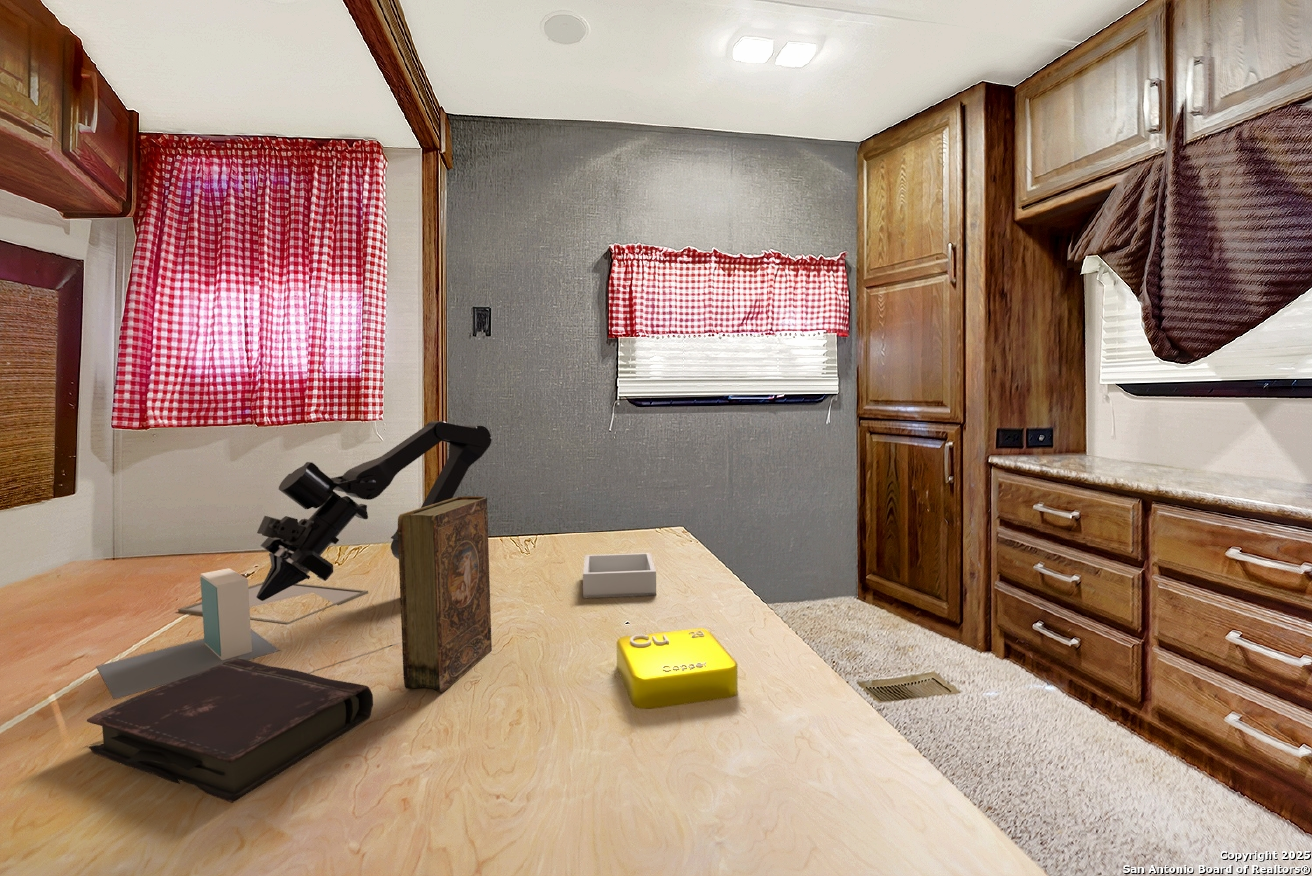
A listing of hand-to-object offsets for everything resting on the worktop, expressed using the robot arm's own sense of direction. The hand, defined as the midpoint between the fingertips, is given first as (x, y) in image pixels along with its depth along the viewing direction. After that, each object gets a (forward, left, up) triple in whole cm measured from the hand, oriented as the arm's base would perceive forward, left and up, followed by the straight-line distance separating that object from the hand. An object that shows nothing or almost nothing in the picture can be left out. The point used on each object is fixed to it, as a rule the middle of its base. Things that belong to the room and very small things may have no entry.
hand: (259, 599), depth 100 cm
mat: (+7, +7, -7) cm, 12 cm away
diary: (-13, +30, -8) cm, 34 cm away
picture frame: (+8, -21, -8) cm, 24 cm away
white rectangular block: (+3, +3, -7) cm, 8 cm away
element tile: (-69, +21, -8) cm, 72 cm away
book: (-36, +14, -7) cm, 39 cm away
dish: (-62, -23, -7) cm, 66 cm away
